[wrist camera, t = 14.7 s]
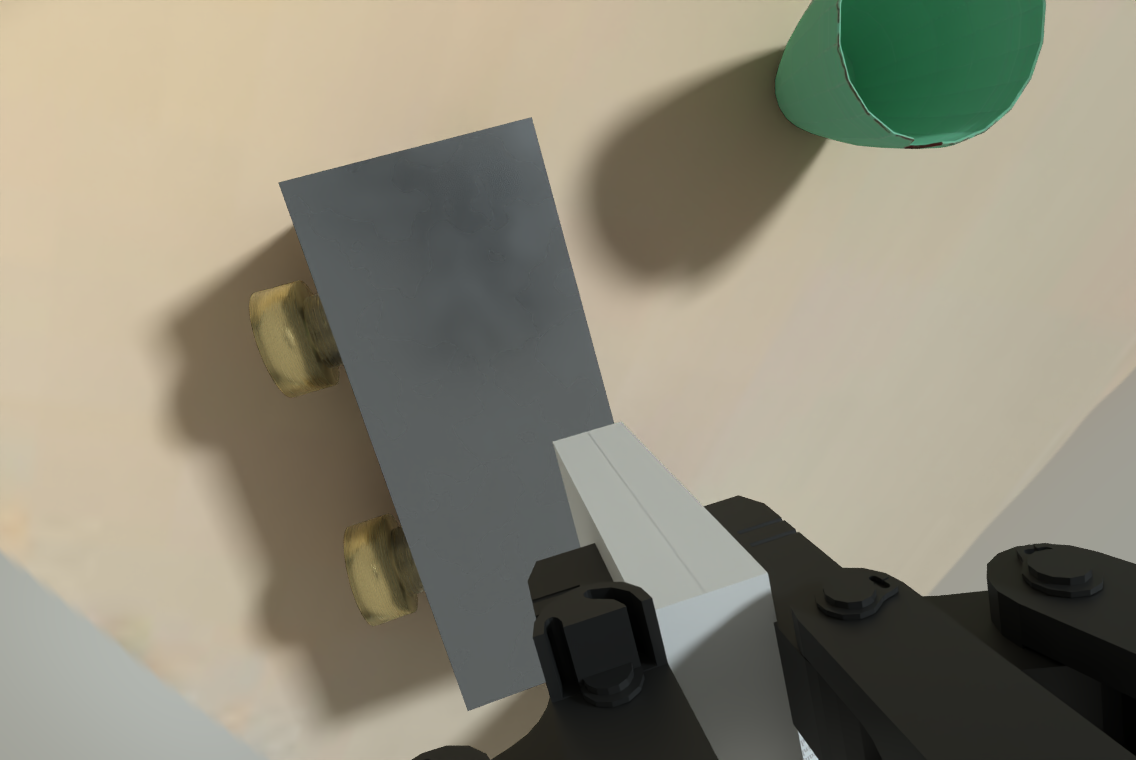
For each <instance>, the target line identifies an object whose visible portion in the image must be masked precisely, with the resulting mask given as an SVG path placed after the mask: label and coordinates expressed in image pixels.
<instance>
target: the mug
mask: <svg viewBox="0 0 1136 760" xmlns="http://www.w3.org/2000/svg"><path fill="white" fill-rule="evenodd" d="M1045 9H1046V1H1045V0H812V2H811V3H810V5H809V7H808V8H807V10H806V11H805V13H804V15H803V16H802V18H801V19H800V21H799V23H798V25H797V26H796V28H795V30H794V32H793V34H792V36H791V37H790V39H789V41H788V43H787V45H786V48H785V51H784V53H783V56H782V59H781V61H780V64H779V67H778V71H777V75H776V78H775V95H776V98H777V102H778V105H779V108H780V109H781V111H782V112H783V114H784V116H785V117H786V119H788V120H789V121H790V122H791V123H793V124H794V125H795V126H797V127H799V128H801V129H803V130H805V131H808V132H810V133H812V134H815V135H819V136H822V137H825V138H829V139H832V140H836V141H840V142H845V143H849V144H853V145H858V146H869V147H880V148H904V149H923V148H941V147H947V146H951V145H955V144H957V143H960V142H962V141H965V140H967V139H970V138H972V137H974V136H977V135H979V134H982V133H984V132H986V131H987V130H988V129H989V128H990V127H991V126H993V125H994V124H995V123H996V122H997V121H998V120H999V119H1001V118H1002V117H1003V116H1004V115H1005V114H1006V113H1008V112H1009V111H1010V110H1011V109H1012V107H1013V106H1014V104H1015V103H1016V101H1017V100H1018V98H1019V97H1020V95H1021V94H1022V92H1023V90H1024V89H1025V87H1026V86H1027V84H1028V83H1029V81H1030V80H1031V78H1032V75H1033V72H1034V69H1035V66H1036V62H1037V59H1038V56H1039V53H1040V50H1041V47H1042V44H1043V37H1044V23H1045Z"/></svg>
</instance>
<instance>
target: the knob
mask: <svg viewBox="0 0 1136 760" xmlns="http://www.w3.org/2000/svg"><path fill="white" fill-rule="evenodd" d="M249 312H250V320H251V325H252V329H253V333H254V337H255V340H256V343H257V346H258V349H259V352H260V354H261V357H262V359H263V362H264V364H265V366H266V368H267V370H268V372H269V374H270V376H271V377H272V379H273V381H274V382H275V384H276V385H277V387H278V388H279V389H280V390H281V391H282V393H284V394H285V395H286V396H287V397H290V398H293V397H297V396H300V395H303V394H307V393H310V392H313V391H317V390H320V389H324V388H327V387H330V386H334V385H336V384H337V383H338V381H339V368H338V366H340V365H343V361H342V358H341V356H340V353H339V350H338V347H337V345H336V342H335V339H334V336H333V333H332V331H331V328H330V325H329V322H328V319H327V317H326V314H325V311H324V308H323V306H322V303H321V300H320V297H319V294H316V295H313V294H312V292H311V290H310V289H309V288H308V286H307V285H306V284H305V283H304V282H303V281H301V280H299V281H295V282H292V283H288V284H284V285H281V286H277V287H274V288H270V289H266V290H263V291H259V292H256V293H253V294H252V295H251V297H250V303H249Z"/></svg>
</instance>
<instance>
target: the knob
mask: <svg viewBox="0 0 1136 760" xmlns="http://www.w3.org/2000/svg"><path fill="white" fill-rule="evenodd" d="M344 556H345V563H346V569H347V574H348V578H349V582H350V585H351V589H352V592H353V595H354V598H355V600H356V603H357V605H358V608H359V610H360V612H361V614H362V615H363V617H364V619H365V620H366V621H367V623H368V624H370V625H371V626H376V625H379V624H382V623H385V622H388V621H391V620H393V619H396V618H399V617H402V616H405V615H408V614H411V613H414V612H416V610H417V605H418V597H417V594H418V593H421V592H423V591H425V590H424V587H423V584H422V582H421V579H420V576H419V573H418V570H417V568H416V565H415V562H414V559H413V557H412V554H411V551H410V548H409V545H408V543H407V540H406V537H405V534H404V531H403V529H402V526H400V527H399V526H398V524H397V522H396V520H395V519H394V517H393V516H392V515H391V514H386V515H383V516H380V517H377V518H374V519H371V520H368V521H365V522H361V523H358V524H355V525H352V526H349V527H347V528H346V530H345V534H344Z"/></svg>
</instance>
